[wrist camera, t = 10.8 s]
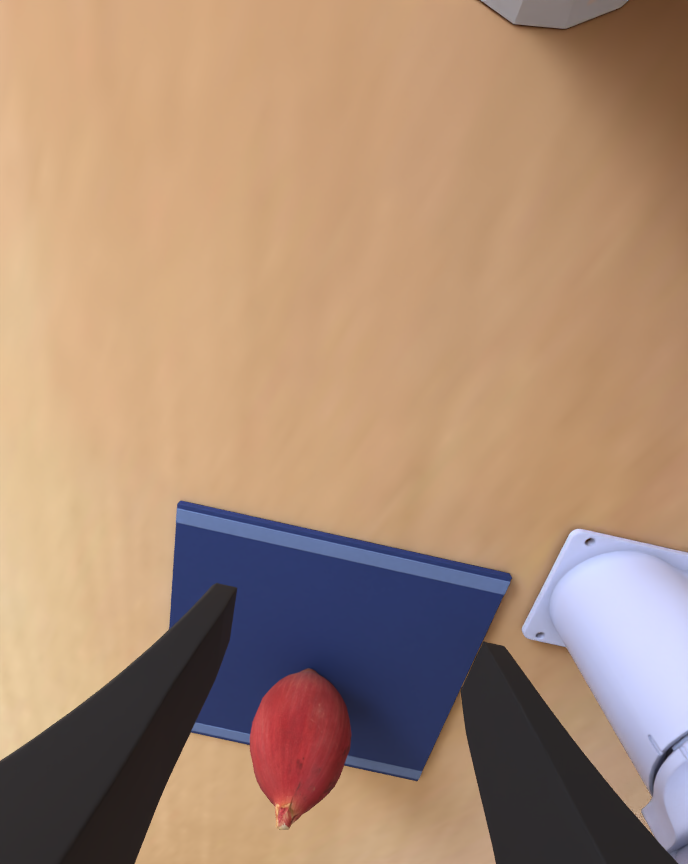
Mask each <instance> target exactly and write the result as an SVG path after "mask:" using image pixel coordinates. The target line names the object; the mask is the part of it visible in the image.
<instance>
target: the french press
mask: <svg viewBox="0 0 688 864" xmlns="http://www.w3.org/2000/svg"><path fill="white" fill-rule="evenodd" d="M481 1H482V2H484V3H485V4H486V5H488V6H489V7H491V8H492V9H493V10H495V11H496V12H498V13H499V14H500V15H502V16H503V17H505V18H506V19H507V20H509V21H510V22H512V23H513V24H519V25H530V26H540V27H551V28H561V29H566V28H569V27H572V26H574V25H577V24H579V23H582V22H584V21H587V20H589V19H592V18H595V17H597V16H600V15H602V14H605V13H607V12H610V11H613V10H615V9H618V8H620V7H622V6H623V5H624V4H625V3H626V2H627V1H628V0H481Z"/></svg>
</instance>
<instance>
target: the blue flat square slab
mask: <svg viewBox="0 0 688 864" xmlns="http://www.w3.org/2000/svg"><path fill="white" fill-rule="evenodd" d="M511 579H512V577H511V575H510V574H509V573H505V572H501V571H496V570H492V569H487V568H483V567H478V566H474V565H469V564H465V563H460V562H456V561H451V560H447V559H442V558H438V557H433V556H429V555H424V554H420V553H415V552H411V551H406V550H402V549H397V548H392V547H388V546H383V545H379V544H374V543H370V542H365V541H361V540H356V539H352V538H347V537H343V536H338V535H334V534H329V533H325V532H320V531H316V530H311V529H307V528H302V527H298V526H293V525H289V524H284V523H280V522H275V521H271V520H266V519H262V518H257V517H253V516H248V515H244V514H239V513H235V512H230V511H226V510H221V509H216V508H212V507H207V506H203V505H198V504H194V503H189V502H185V501H180V502H179V503H178V504H177V515H176V534H175V550H174V565H173V581H172V596H171V612H170V627H169V629H170V628H171V627H172V626H173V625H175V624H176V623H177V622H178V621H179V620H180V619H181V618H182V617H183V616H184V615H185V614H186V613H187V612H188V611H189V610H190V609H191V608H192V607H193V606H194V605H195V604H196V602H197V601H198V600H199V599H200V598H201V597H202V596H203V595H204V594H205V593H206V592H207V591H208V589H209V588H210V587H211V586H212V585H214V584H216V583H219V584H223V585H228V586H233V587H237V593H236V600H235V607H234V615H233V622H232V629H231V636H230V641H229V644H228V647H227V649H226V652H225V655H224V658H223V661H222V663H221V666H220V669H219V671H218V674H217V677H216V679H215V682H214V684H213V686H212V688H211V690H210V692H209V694H208V697H207V699H206V701H205V703H204V705H203V707H202V709H201V711H200V714H199V716H198V718H197V720H196V722H195V724H194V726H193V728H192V730H191V732H192V733H197V734H201V735H206V736H210V737H215V738H220V739H224V740H229V741H234V742H238V743H243V744H247V745H250V733H251V728H252V722H253V720H254V717H255V715H256V712H257V710H258V708H259V705H260V703H261V701H262V698H263V697H264V696H265V694H266V693H267V692H268V691H269V690H270V689H271V688H272V687H273V686H274V685H275V684H276V683H277V682H278V681H279V680H281V679H282V678H284V677H286V676H288V675H290V674H294V673H298V672H300V671H302V670H305V669H308V668H310V669H313V670H315V671H316V672H317V673H318V674H319V675H321V676H322V677H324V678H325V679H327V680H328V681H329V682H330V683H331V684H332V685H333V686H334V687H335V688H336V689H337V691H338V692H339V693H340V695H341V697H342V698H343V700H344V702H345V704H346V707H347V711H348V715H349V719H350V727H351V744H350V750H349V753H348V756H347V758H346V761H345V764H344V765H345V766H349V767H354V768H359V769H363V770H368V771H372V772H377V773H382V774H386V775H391V776H396V777H400V778H405V779H409V780H414V781H418V779H419V778H420V775H421V773H422V770H423V768H424V766H425V764H426V762H427V760H428V758H429V755H430V753H431V751H432V749H433V747H434V745H435V742H436V740H437V738H438V736H439V734H440V732H441V730H442V727H443V725H444V723H445V721H446V719H447V717H448V714H449V712H450V710H451V708H452V706H453V704H454V702H455V699H456V697H457V695H458V693H459V691H460V689H461V686H462V684H463V682H464V680H465V678H466V676H467V674H468V671H469V669H470V667H471V665H472V663H473V661H474V658H475V656H476V654H477V652H478V650H479V648H480V646H481V643H482V641H483V639H484V637H485V635H486V633H487V630H488V628H489V626H490V624H491V622H492V620H493V618H494V615H495V613H496V611H497V609H498V607H499V605H500V602H501V600H502V598H503V596H504V595H505V593H506V590H507V588H508V586H509V584H510V581H511Z"/></svg>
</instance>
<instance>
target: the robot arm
mask: <svg viewBox="0 0 688 864" xmlns="http://www.w3.org/2000/svg"><path fill="white" fill-rule="evenodd" d="M589 538H591V539H590V540H589V541H587V542H585V541H586V540H587V539H589ZM236 593H237V587H233V586H228V585H223V584H219V583H216V584H214V585H212V586H211V587H210V588H209V589H208V591H207V592H206V593H205V594H204V595H203V596H202V597H201V598H200V599H199V600H198V601H197V602H196V604H195V605H194V606H193V607H192V608H191V609H190V610H189V611H188V612H187V613H186V614H185V615H184V616H183V617H182V618H181V619H180V620H179V621H178V622H177V623H176V624H175V625H173V626H172V627H171V628H170V629H169V630H168V631H167V632H166V633H165V634H164V635H163V636H162V637H161V638H160V639H159V640H158V641H157V642H155V643H154V644H153V645H152V646H151V647H150V648H149V649H148V650H147V651H145V652H144V653H143V654H142V655H141V656H140V657H138V658H137V659H136V660H135V661H134V662H133V663H131V664H130V665H129V666H128V667H127V668H126V669H124V670H123V671H122V672H121V673H120V674H119V675H117V676H116V677H115V678H114V679H112V680H111V681H110V682H109V683H108V684H106V685H105V686H104V687H103V688H101V689H100V690H99V691H98V692H96V693H95V694H94V695H92V696H91V697H90V698H88V699H87V700H86V701H85V702H83V703H82V704H81V705H79V706H78V707H77V708H75V709H74V710H73V711H71V712H70V713H69V714H67V715H66V716H64V717H63V718H62V719H60V720H59V721H57V722H56V723H55V724H53V725H52V726H50V727H49V728H48V729H46V730H45V731H43V732H42V733H41V734H39V735H38V736H36V737H35V738H34V739H32V740H31V741H29V742H28V743H26V744H25V745H23V746H22V747H20V748H19V749H17V750H16V751H15V752H13V753H12V754H10V755H9V756H7V757H5V758H4V759H2V760H1V761H0V864H135V861H136V858H137V856H138V853H139V851H140V848H141V846H142V843H143V841H144V838H145V835H146V833H147V830H148V828H149V825H150V823H151V820H152V818H153V815H154V812H155V810H156V807H157V805H158V802H159V800H160V798H161V795H162V793H163V791H164V788H165V786H166V784H167V782H168V779H169V777H170V775H171V773H172V771H173V768H174V766H175V764H176V762H177V760H178V758H179V756H180V754H181V752H182V749H183V747H184V745H185V743H186V741H187V739H188V737H189V735H190V733H191V730H192V728H193V726H194V724H195V722H196V720H197V718H198V716H199V714H200V711H201V709H202V707H203V705H204V703H205V701H206V699H207V697H208V694H209V692H210V690H211V688H212V686H213V684H214V682H215V679H216V677H217V674H218V671H219V669H220V666H221V663H222V661H223V658H224V655H225V652H226V649H227V647H228V644H229V641H230V636H231V629H232V622H233V615H234V607H235V600H236ZM522 632H523V634H524V636H525V637H526V638H528V639H531V640H536V641H540V642H545V643H549V644H554V645H558V646H563V647H566V648H567V649H568V651H569V653H570V655H571V656H572V658H573V660H574V662H575V663H576V665H577V667H578V669H579V670H580V672H581V674H582V676H583V677H584V679H585V681H586V683H587V684H588V686H589V688H590V690H591V691H592V693H593V695H594V697H595V698H596V700H597V702H598V704H599V705H600V707H601V709H602V711H603V712H604V714H605V716H606V717H607V719H608V721H609V723H610V724H611V726H612V728H613V730H614V731H615V733H616V735H617V737H618V738H619V740H620V742H621V744H622V745H623V747H624V749H625V751H626V752H627V754H628V756H629V758H630V759H631V761H632V763H633V765H634V766H635V768H636V770H637V772H638V773H639V775H640V777H641V779H642V780H643V782H644V784H645V785H646V787H647V789H648V791H649V792H650V794H651V796H652V799H651V800H650V802H649V803H648V804H647V805H646V806H645V807H644V808H643V809H642V810H641V812H642V814H643V816H644V818H645V820H646V822H647V824H648V825H649V827H650V829H651V831H652V833H653V835H654V836H653V835H652V834H651V833H650V832H649V831H648V829H647V828H646V827H645V826H644V825H643V824H642V823H641V821H640V820H639V819H638V818H637V817H636V816H635V815H634V814H633V812H632V811H631V810H630V809H629V808H628V807H627V806H626V804H625V803H624V802H623V801H622V800H621V798H620V797H619V796H618V795H617V794H616V793H615V791H614V790H613V789H612V788H611V787H610V785H609V784H608V783H607V782H606V780H605V779H604V778H603V777H602V775H601V774H600V773H599V772H598V770H597V769H596V768H595V767H594V765H593V764H592V763H591V762H590V761H589V759H588V758H587V757H586V756H585V754H584V753H583V752H582V750H581V749H580V748H579V747H578V745H577V744H576V743H575V741H574V740H573V739H572V738H571V736H570V735H569V734H568V732H567V731H566V730H565V728H564V727H563V726H562V724H561V723H560V722H559V720H558V719H557V718H556V716H555V715H554V714H553V712H552V711H551V710H550V708H549V707H548V705H547V704H546V703H545V701H544V700H543V699H542V697H541V696H540V694H539V693H538V692H537V690H536V689H535V688H534V686H533V685H532V683H531V682H530V681H529V679H528V678H527V676H526V675H525V674H524V672H523V671H522V670H521V668H520V667H519V665H518V664H517V663H516V661H515V660H514V659H513V657H512V656H511V654H510V653H509V652H508V650H507V649H506V648H505V647H504V646H501V645H496V644H492V643H487V642H483V644H482V646H481V648H480V650H479V652H478V655H477V657H476V659H475V661H474V663H473V665H472V667H471V670H470V672H469V674H468V676H467V678H466V680H465V682H464V685H463V687H462V689H461V697H462V706H463V714H464V721H465V729H466V735H467V740H468V744H469V748H470V753H471V757H472V761H473V766H474V770H475V774H476V779H477V783H478V787H479V791H480V795H481V800H482V804H483V808H484V812H485V816H486V821H487V825H488V829H489V833H490V838H491V842H492V846H493V851H494V856H495V861H496V864H688V553H687V552H683V551H678V550H674V549H669V548H665V547H660V546H656V545H651V544H647V543H642V542H638V541H634V540H629V539H625V538H620V537H616V536H611V535H607V534H602V533H598V532H593V531H589V530H584V529H575V530H573V531H572V532H571V533H570V534H569V536H568V538H567V540H566V542H565V544H564V546H563V548H562V550H561V552H560V554H559V556H558V558H557V559H556V561H555V563H554V565H553V567H552V569H551V571H550V573H549V575H548V577H547V579H546V581H545V583H544V585H543V587H542V589H541V591H540V593H539V595H538V597H537V599H536V601H535V603H534V605H533V607H532V609H531V611H530V613H529V615H528V617H527V619H526V621H525V623H524V625H523V627H522ZM539 632H540V633H539ZM655 838H656V839H655Z"/></svg>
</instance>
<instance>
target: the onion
mask: <svg viewBox="0 0 688 864" xmlns="http://www.w3.org/2000/svg"><path fill="white" fill-rule="evenodd" d="M350 744H351V727H350V719H349V715H348V711H347V707H346V704H345V702H344V700H343V698H342V697H341V695H340V693H339V692H338V691H337V689H336V688H335V687H334V686H333V685H332V684H331V683H330V682H329V681H328V680H327V679H325V678H324V677H322V676H321V675H319V674H318V673H317V672H316V671H315V670H313V669H310V668H308V669H305V670H302V671H300V672H298V673H294V674H290V675H288V676H286V677H284V678H282V679H281V680H279V681H278V682H277V683H276V684H275V685H274V686H273V687H272V688H271V689H270V690H269V691H268V692H267V693H266V694H265V696H264V697H263V698H262V701H261V703H260V705H259V708H258V710H257V712H256V715H255V717H254V720H253V722H252V728H251V733H250V752H251V757H252V762H253V768H254V773H255V776H256V779H257V782H258V784H259V786H260V788H261V790H262V791H263V792H264V794H265V795H266V796H267V798H268V799H269V800H270V802H271V803H272V804H273V805H274V806H275V812H276V828H278V829H279V830H289V828H290V826H291V825H292V823H294V822H295V821H296V820H297V819H299V817H300V816H301V815H302V814H304V813H306V812H307V811H309V810H310V809H311V808H312V807H314V806H315V805H316V804H317V803H319V802H320V801H321V800H322V799H323V798H324V797H325V796H327V795H328V794H329V792H330V791H331V790H332V789H333V788H334V786H335V785H336V783H337V781H338V779H339V777H340V775H341V772H342V769H343V767H344V764H345V761H346V758H347V756H348V753H349V750H350Z"/></svg>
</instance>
